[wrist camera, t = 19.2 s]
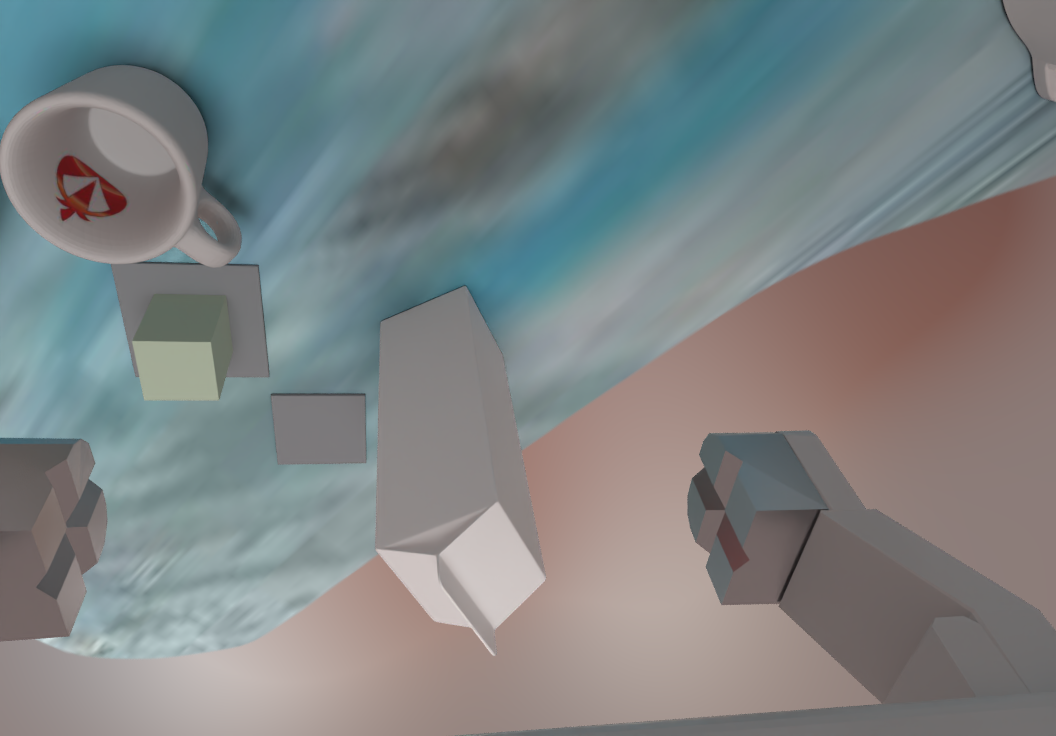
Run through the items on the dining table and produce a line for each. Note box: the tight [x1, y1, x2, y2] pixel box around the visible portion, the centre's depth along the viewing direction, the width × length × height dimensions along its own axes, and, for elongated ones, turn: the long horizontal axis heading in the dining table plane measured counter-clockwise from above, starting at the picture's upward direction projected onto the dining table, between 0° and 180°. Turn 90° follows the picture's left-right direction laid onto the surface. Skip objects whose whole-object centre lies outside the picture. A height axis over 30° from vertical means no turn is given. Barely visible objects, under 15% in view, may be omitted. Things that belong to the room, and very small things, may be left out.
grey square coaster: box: [271, 394, 366, 464], centre depth 54 cm, size 6×6×1 cm
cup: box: [0, 65, 242, 268], centre depth 39 cm, size 11×8×8 cm
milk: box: [375, 286, 546, 656], centre depth 43 cm, size 6×6×22 cm
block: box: [132, 294, 233, 400], centre depth 46 cm, size 4×4×5 cm
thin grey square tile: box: [111, 262, 269, 377], centre depth 48 cm, size 8×8×1 cm
